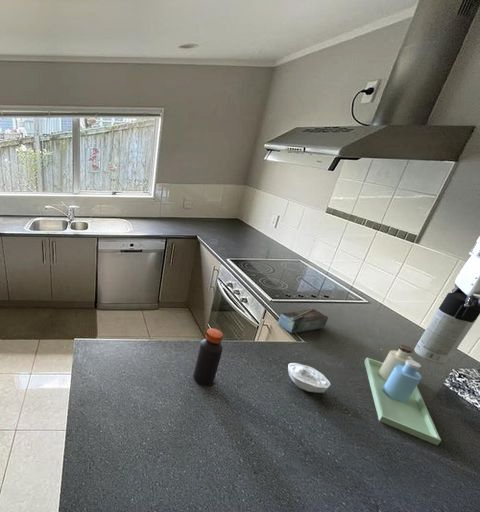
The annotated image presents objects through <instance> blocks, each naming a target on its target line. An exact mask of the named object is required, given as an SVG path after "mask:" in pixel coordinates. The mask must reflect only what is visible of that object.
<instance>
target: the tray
mask: <svg viewBox="0 0 480 512" xmlns="http://www.w3.org/2000/svg"><path fill="white" fill-rule="evenodd" d="M363 362H364V366H365V370H366V373H367V378H368V381H369V386H370V390H371V394H372V397H373V402H374V407H375V410H376V414H377V419H378V421H379V422H381V423H383V424H386V425H387V426H390V427H392V428H395V429H397V430H400V431H402V432H403V433H404V432H405V433H407V434H409V435H411V436H414V437H415V438H419V439H421V440H423V441H426V442H428V443H430V444H433V445H436V446H439V444H440V443H441V442H442V438H441V437H440V435H439V433H438V430H437V428H436V426H435V423H434V421H433V418H432V416H431V414H430V412H429V409H428V408H427V405H426V403H425V400H424V398H423V396H422V394H421V392H420V390H419V387H418V385H417V386H416V388H415V389H414V391H413V392H412V394H411V396H410V397H409V399H408V400H407V401H406V402H399V401H396V400H394V399H392V398H390V397H389V396H387V395H386V394H385V393H384V392H383V390H382V388H383V387H384V385H385V383H386V382H387V381H385V380H383V379H382V378H381V377H380V376H379V375H378V371H379V369H380V368H381V366H382V364H383V362H382V361H379V360H376V359H373V358H370V357H365V359H364V361H363Z"/></svg>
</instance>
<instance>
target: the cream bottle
mask: <svg viewBox="0 0 480 512" xmlns="http://www.w3.org/2000/svg"><path fill="white" fill-rule="evenodd" d="M413 352H414V349H413V348H412V347H410V346H408V345H405V344H400V345H399V346H398V350H393V349H392V350H391V349H390V350H389V352H388V354H387V355H386V357H385V358H384V361H383V362H382V363H383V364H382V366H381V368H380V369H379V371H378V375H379V376H380V377H381V378H382V379H383V380H385V381H387V380H388V378H389V377H390V375H391V373H392V372H393V370H394V368H395V366H397V365H402V366H405V364H406V363H405V362H406V361H407V360H413V361H415V360H414V358H413V357H411V356H410V355H411V354H412V353H413Z"/></svg>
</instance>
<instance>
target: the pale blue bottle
mask: <svg viewBox="0 0 480 512" xmlns="http://www.w3.org/2000/svg"><path fill="white" fill-rule="evenodd" d="M413 360H414V359H413ZM413 360H407V361H406V362H405V363H406V364H405V366H402V365H397V366H395V368H394V370H393V372H392V373H391V375H390V377H389V378H388V380H387V382H386V383H385V385H384V387H383V388H382V390H383V392H384V393H385V394H386V395H387V396H389V397H390V398H392V399H394V400H396V401H399V402H406V401H407V400H408V399H409V397H410V396H411V394H412V392H413V391H414V389H415V388H416V386H417V387H418V385H419V384H420V382H421V380H422V378H423V377H422V375H421V374H420V373H419V372H418V371H419V370H420V369H421V367H422V365H421V364H420V363H419V362H418V361H415V360H414V361H413Z"/></svg>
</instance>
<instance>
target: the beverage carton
mask: <svg viewBox="0 0 480 512" xmlns="http://www.w3.org/2000/svg"><path fill="white" fill-rule="evenodd" d="M328 319H329V316H327V315H325V314H324V313H322V312H320V311H318V310H316V309H315V308H309V309H302V310H295V311H290V312H281V313H280V315H279V318H278V322H277V323H278V325H279V326H280V327H282V328H283V329H285V330H286V331H288V332H289V333H291V334H295V333H300V332H307V331H308V332H309V331H313V330H320V329H325V328H326V324H327V322H328Z"/></svg>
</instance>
